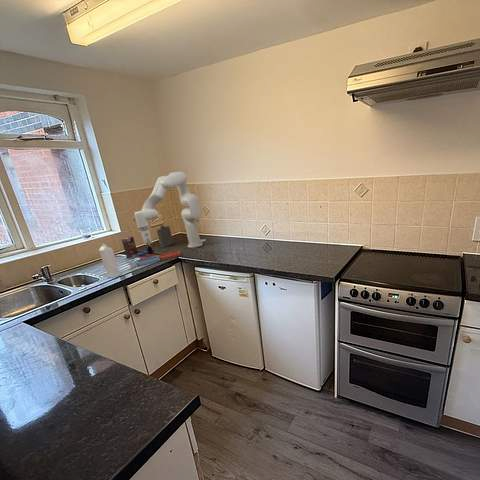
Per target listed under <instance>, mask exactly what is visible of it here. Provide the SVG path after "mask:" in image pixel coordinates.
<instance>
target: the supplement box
mask: <svg viewBox="0 0 480 480" xmlns="http://www.w3.org/2000/svg"><path fill="white" fill-rule="evenodd" d="M121 243H122V247H123V249H124V253H125V257H126V259H127V260H131V259H134V258H136V257H139V256H138V253H139V252H138V249H137V245H136V242H135V238H134V236H128V237H125V238H122V239H121Z"/></svg>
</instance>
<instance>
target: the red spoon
mask: <svg viewBox="0 0 480 480" xmlns="http://www.w3.org/2000/svg"><path fill="white" fill-rule="evenodd" d="M155 255H156V254H155V253H150V254H146V255H144V256H139V259H143V258H147V257H151V256H155Z"/></svg>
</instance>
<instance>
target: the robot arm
mask: <svg viewBox="0 0 480 480" xmlns="http://www.w3.org/2000/svg"><path fill="white" fill-rule="evenodd" d="M187 180H188V176H187V174H186V173H185V172H184V171H172V172H169V173H168V175H161V176H159V177H158V178H157V179H156V181H155V184H154V186H153V190H152V192H151V194H150V195H149V196H148V198H147V199H145V201H144V203H143V205H142V206H141V207H142V208H141V210H139V211H135V212H134V213H133V215H134V219H135V222H136V226H137V231H138V232H139V233H140V234H141V238H142V241H143V243H144V245H145V247H146V251H148V254H147V255H151V254H154V252H153V251H152V250H153V248H152V244H154V243H153V239H152V236H151V232H150V230H151V229H150V224H149V221H151V220H152V221H153V220H156V219H158V217H159V212H158V211H157V210H156V209H155V208H154V207H156V205H158V204H159V203H161V202H162V201H164V198H165V195H166V193H167V190H168V189H170V188H171V189H172V188H175V187H176V188H177V191H178V197H179V201H180V204H181V205H182V206H183V207H185V208H183V209H182V210H181V213H180V215H181V218H182V221H183V224H184V228H185V232H186V236H187V241H188V244H187V248H190V249H193V248H199V247H202V246H203V245H204V243H205V242H207V239H205V238H204V239H201V238H200V232H199V230H198V229H199V228H198V223H197V221H199V220H200V219H201V216H202V211H201V205H200V200H199V198H198V196H197V195H196V194H194V193H191V190H190V187H189V184H188V182H187Z"/></svg>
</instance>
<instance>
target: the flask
mask: <svg viewBox="0 0 480 480" xmlns="http://www.w3.org/2000/svg"><path fill="white" fill-rule="evenodd" d="M159 227H160V228H158V229H156V234H157V238H158V242H159V246H160V248H161V249H164V248H166V247H168V246H171V245H173V244H174V240H173V236H172V231H171V227H170V225H167V226H164V224H162V225H159Z"/></svg>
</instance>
